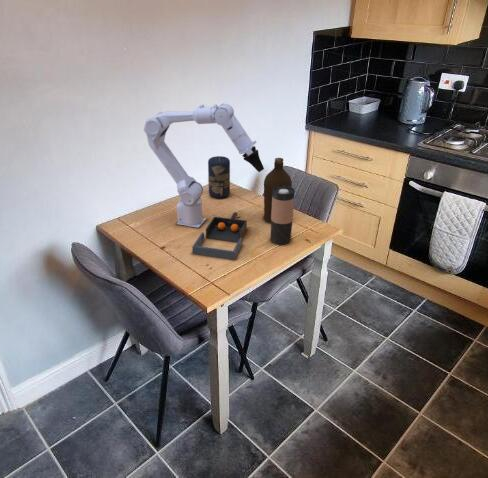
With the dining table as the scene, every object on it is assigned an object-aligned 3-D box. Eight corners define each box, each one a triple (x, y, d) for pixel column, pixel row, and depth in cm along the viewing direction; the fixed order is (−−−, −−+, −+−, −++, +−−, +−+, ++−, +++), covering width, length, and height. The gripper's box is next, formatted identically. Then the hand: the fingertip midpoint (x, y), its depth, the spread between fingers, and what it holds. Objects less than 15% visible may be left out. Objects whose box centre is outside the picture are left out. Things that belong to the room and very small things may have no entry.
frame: (202, 239, 159) (201, 232, 158) (242, 244, 155) (242, 237, 154) (192, 253, 151) (192, 246, 149) (234, 259, 147) (234, 252, 145)
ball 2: (229, 232, 163) (229, 224, 161) (232, 229, 165) (232, 222, 164) (237, 233, 162) (237, 226, 160) (239, 230, 164) (239, 223, 163)
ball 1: (216, 230, 164) (216, 223, 163) (219, 228, 166) (219, 220, 165) (223, 231, 163) (223, 224, 162) (226, 229, 165) (226, 221, 164)
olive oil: (264, 225, 168) (267, 164, 155) (260, 213, 177) (262, 154, 165) (291, 224, 168) (296, 163, 156) (286, 212, 178) (290, 153, 165)
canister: (207, 198, 190) (205, 159, 181) (210, 190, 199) (209, 152, 190) (228, 200, 189) (228, 160, 180) (231, 191, 197) (231, 153, 188)
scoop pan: (240, 242, 157) (240, 233, 155) (206, 238, 160) (205, 229, 158) (251, 219, 172) (251, 211, 170) (220, 216, 176) (220, 207, 174)
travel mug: (285, 247, 153) (289, 196, 143) (266, 242, 157) (268, 191, 147) (294, 238, 159) (298, 188, 149) (275, 233, 162) (278, 183, 152)
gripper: (250, 131, 141) (272, 165, 145) (246, 128, 155) (267, 159, 159) (232, 143, 142) (255, 177, 146) (230, 140, 156) (251, 170, 160)
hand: (260, 168), depth 152 cm, fingers open, 7 cm apart
